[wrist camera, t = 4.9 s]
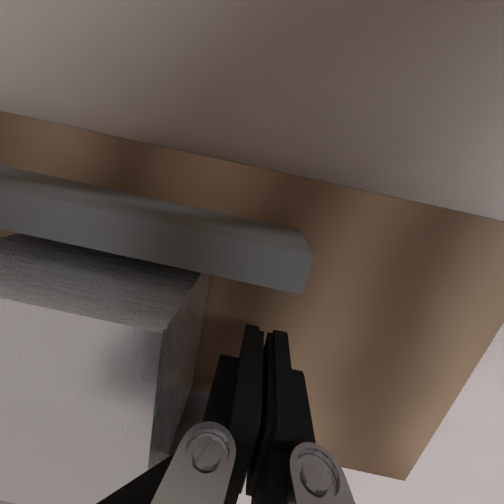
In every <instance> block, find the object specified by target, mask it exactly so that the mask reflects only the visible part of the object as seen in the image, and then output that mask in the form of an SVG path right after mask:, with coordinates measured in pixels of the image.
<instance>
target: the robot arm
mask: <svg viewBox="0 0 504 504" xmlns="http://www.w3.org/2000/svg"><path fill="white" fill-rule="evenodd" d="M259 329H260V327H259V326H255V325H250V324H246V327H245V331H244V336H243V340H242V345H241V349H240V354H239V358H237V357H233V356H228V355H223V354H220V357H219V361H218V364H217V368H216V372H215V376H214V379H213V383H212V387H211V391H210V394H209V398H208V402H207V406H206V409H205V413H204V417H203V421H202V422H201V423H199V424H196V425H194V426H193V427H192V428H190V429H189V430H188V431H187V432H186V434H185V435H184V437H183V438H182V440H181V442H180V444H179V446H178V448H177V450H176V452H175V453H174V454H172V455H170V456H169V457H167V458H166V459H164V460H163V461H161V462H160V463H158V464H157V465H155V466H154V467H152V468H150V469H149V470H147V471H146V472H144V473H143V474H141V475H140V476H138V477H137V478H135V479H133V480H132V481H130V482H129V483H127V484H126V485H124V486H123V487H121V488H120V489H118V490H116V491H115V492H113V493H112V494H110V495H109V496H107V497H106V498H104V499H103V500H101V501H100V502H98V503H96V504H236V502H237V499H238V495H239V493H240V494H241V491H242V488H243V484H244V481H245V477H246V474H247V481H246V495H249V496H252V502H251V504H355V502H354V499H353V496H352V493H351V491H350V488H349V485H348V482H347V480H346V477H345V474H344V472H343V470H342V468H341V466H340V464H339V462H338V461H337V459H336V458H335V457H334V456H333V454H332V453H330V452H329V451H328V450H327V449H326V448H324V447H323V446H321V445H319V444H317V443H316V441H315V435H314V429H313V423H312V417H311V412H310V406H309V400H308V394H307V388H306V382H305V376H304V373H303V371H300V370H295V369H292V367H291V358H290V349H289V340H288V333H287V332H284V331H279V330H273V332H272V333H270V332H268V333H267V336H266V340H265V344H264V331H261V330H259Z"/></svg>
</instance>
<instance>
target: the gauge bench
mask: <svg viewBox="0 0 504 504" xmlns="http://www.w3.org/2000/svg"><path fill="white" fill-rule="evenodd" d="M18 233H21V234H25V235H30V236H35V237H39V238H44V239H48V240H53V241H58V242H62V243H67V244H71V245H76V246H81V247H85V248H90V249H94V250H99V251H104V252H108V253H113V254H117V255H122V256H127V257H131V258H136V259H140V260H145V261H149V262H154V263H159V264H163V265H168V266H172V267H177V268H182V269H186V270H191V271H195V272H200V273H205V274H209V275H210V281H209V287H208V293H207V299H206V305H205V311H204V317H203V323H202V329H201V335H200V341H199V347H198V353H197V359H196V365H195V371H194V377H193V383H192V389H191V392H190V394H189V397H188V400H187V403H186V406H185V408H184V411H183V414H182V417H181V420H180V423H179V425H178V428H177V431H176V434H175V437H174V439H173V442H172V445H171V448H170V451H169V453H168V456H167V457H169V456H170V455H172V454H174V453H175V452H176V450H177V448H178V446H179V444H180V442H181V440H182V438H183V437H184V435H185V434H186V432H187V431H188V430H189V429H190V428H192V427H193V426H194V425H196V424H199V423H201V422H202V421H203V417H204V413H205V409H206V406H207V402H208V398H209V394H210V391H211V387H212V383H213V379H214V376H215V372H216V368H217V364H218V361H219V357H220V354H223V355H228V356H233V357H237V358H239V354H240V349H241V345H242V340H243V336H244V331H245V327H246V324H250V325H255V326H259V327H260V329H259V330H261V331H264V344H265V340H266V336H267V333H268V332H270V333H272V332H273V330H279V331H284V332H287V333H288V340H289V349H290V358H291V367H292V369H295V370H300V371H303V373H304V376H305V382H306V388H307V394H308V400H309V406H310V412H311V417H312V423H313V429H314V435H315V441H316V443H317V444H319V445H321V446H323V447H324V448H326V449H327V450H328V451H329V452H330V453H332V454H333V456H334V457H335V458H336V459H337V461H338V462H339V464H340V466H341V467H344V468H348V469H353V470H358V471H362V472H367V473H372V474H376V475H381V476H385V477H390V478H395V479H399V480H404V481H405V479H406V478H407V476H408V475H409V473H410V471H411V470H412V468H413V467H414V465H415V463H416V462H417V460H418V459H419V457H420V455H421V454H422V452H423V451H424V449H425V447H426V446H427V444H428V443H429V441H430V439H431V438H432V436H433V435H434V433H435V431H436V430H437V428H438V427H439V425H440V423H441V422H442V420H443V418H444V417H445V415H446V414H447V412H448V410H449V409H450V407H451V406H452V404H453V402H454V401H455V399H456V398H457V396H458V394H459V393H460V391H461V390H462V388H463V386H464V385H465V383H466V382H467V380H468V378H469V377H470V375H471V374H472V372H473V370H474V369H475V367H476V366H477V364H478V362H479V361H480V359H481V358H482V356H483V354H484V353H485V351H486V350H487V348H488V346H489V345H490V343H491V341H492V340H493V338H494V337H495V335H496V333H497V332H498V330H499V329H500V327H501V325H502V324H503V322H504V221H500V220H496V219H491V218H487V217H482V216H477V215H473V214H468V213H464V212H459V211H455V210H450V209H445V208H441V207H436V206H432V205H427V204H423V203H418V202H413V201H409V200H404V199H400V198H395V197H391V196H386V195H381V194H377V193H372V192H368V191H363V190H358V189H354V188H349V187H345V186H340V185H336V184H331V183H326V182H322V181H317V180H313V179H308V178H304V177H299V176H294V175H290V174H285V173H281V172H276V171H272V170H267V169H262V168H258V167H253V166H249V165H244V164H239V163H235V162H230V161H226V160H221V159H217V158H212V157H207V156H203V155H198V154H194V153H189V152H185V151H180V150H175V149H171V148H166V147H162V146H157V145H152V144H148V143H143V142H139V141H134V140H130V139H125V138H120V137H116V136H111V135H107V134H102V133H98V132H93V131H88V130H84V129H79V128H75V127H70V126H66V125H61V124H56V123H52V122H47V121H43V120H38V119H33V118H29V117H24V116H20V115H15V114H11V113H6V112H1V111H0V238H2V237H6V236H10V235H14V234H18ZM246 477H247V474H246ZM246 477H245V480H246ZM244 483H245V481H244ZM243 487H244V484H243ZM242 490H243V488H242Z"/></svg>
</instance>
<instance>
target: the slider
mask: <svg viewBox="0 0 504 504" xmlns="http://www.w3.org/2000/svg"><path fill="white" fill-rule="evenodd" d="M209 281H210V275H209V274H205V273H200V272H195V271H191V270H186V269H182V268H177V267H172V266H168V265H163V264H159V263H154V262H149V261H145V260H140V259H136V258H131V257H127V256H122V255H117V254H113V253H108V252H104V251H99V250H94V249H90V248H85V247H81V246H76V245H71V244H67V243H62V242H58V241H53V240H48V239H44V238H39V237H35V236H30V235H25V234H21V233H18V234H14V235H10V236H6V237H2V238H0V500H1V501H5V502H10V503H15V504H96V503H98V502H100V501H101V500H103V499H104V498H106V497H107V496H109V495H110V494H112V493H113V492H115V491H116V490H118V489H120V488H121V487H123V486H124V485H126V484H127V483H129V482H130V481H132V480H133V479H135V478H137V477H138V476H140V475H141V474H143V473H144V472H146V471H147V470H149V469H150V468H152V467H154V466H155V465H157V464H158V463H160V462H161V461H163V460H164V459H166V458H167V456H168V453H169V451H170V448H171V445H172V442H173V439H174V437H175V434H176V431H177V428H178V425H179V423H180V420H181V417H182V414H183V411H184V408H185V406H186V403H187V400H188V397H189V394H190V392H191V389H192V383H193V377H194V371H195V365H196V359H197V353H198V347H199V341H200V335H201V329H202V323H203V317H204V311H205V305H206V299H207V293H208V287H209Z"/></svg>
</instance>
